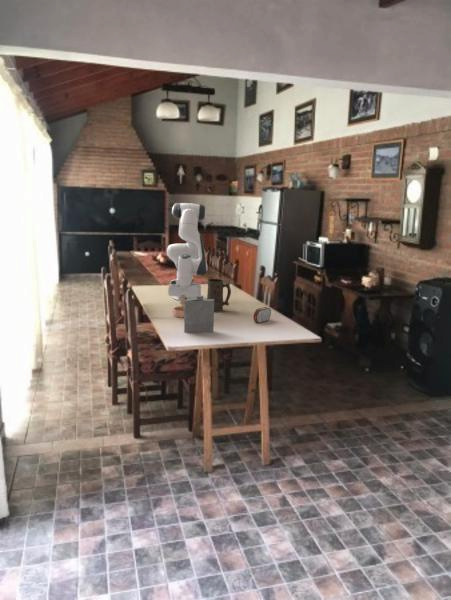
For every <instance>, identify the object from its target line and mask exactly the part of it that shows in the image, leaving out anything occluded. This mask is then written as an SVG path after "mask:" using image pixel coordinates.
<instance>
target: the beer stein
mask: <svg viewBox="0 0 451 600" xmlns="http://www.w3.org/2000/svg"><path fill="white" fill-rule="evenodd" d="M230 285H231V284H230V282H226V283H224V281H223V279H219V278H218V279H216V278H209V279H207V295H206V296H207V297H206V299H214V313H218V312H219V313H220V312H223V311H224V309H223V307H224V306H227V307H228V306H229V304H230V303H229V300H230V297H231V294H232V291H231V290H232V289H231V287H230ZM224 288H226V289H227V293H226V294H227V295H226V298H225V300H224Z"/></svg>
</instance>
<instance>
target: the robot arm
mask: <svg viewBox="0 0 451 600" xmlns="http://www.w3.org/2000/svg"><path fill="white" fill-rule="evenodd" d="M171 214H172V217H173V219H176V220H179V224H178V236H179V238H180V239H181V240H183V241H185V243H179V242H178V243H172V244H169V245H168V246H167V247H166V255H167V257H168V258H169V259H170V260H171V261H172V262H173V263H174V265H175V267H176V278H175V279H172V280H170V281H169V286H168V290H167V294H168V296H169V297H171V298H172V299H174V300H177V301H179V302H180V303H179V305H182V295H185V297H187V300H190V299H197V295H202V291H201V290H202V285H201V284H200V283H199V282H195V278H193V276H195V275H196V276H201V277H202V276H204V275H205V274H207V272H208V263H207V260H206V251H205V245H204V238H203V236H202V234H201V233H200V232H199V229H198V226H199V225H198V224H199V223H198V222H199V221H203V220H204V219H205V218H206V216H207V209H206V206H205V205H204V204H200V203H199V204H198V203H193V202H189V203H188V202H175V203H174V204H173V206H172V208H171Z"/></svg>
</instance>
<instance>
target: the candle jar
mask: <svg viewBox="0 0 451 600" xmlns="http://www.w3.org/2000/svg"><path fill="white" fill-rule="evenodd" d="M181 309H182V305H180V306H175V307H173V308H172V310H171V312H172V315H173V316H174V317H176V318H182V319H184V315H185V311H181Z"/></svg>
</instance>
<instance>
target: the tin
mask: <svg viewBox="0 0 451 600" xmlns="http://www.w3.org/2000/svg"><path fill="white" fill-rule="evenodd" d="M271 313H272V309H271V308H270V307H268V306H264V307H259V308H257V309H255V311H254V312H253V318H252V319H253V321H254V322H255V323H258V324H260V323H263V322H264V323H265V322H267V321H269V319H270V318H271V316H272V315H271Z"/></svg>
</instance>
